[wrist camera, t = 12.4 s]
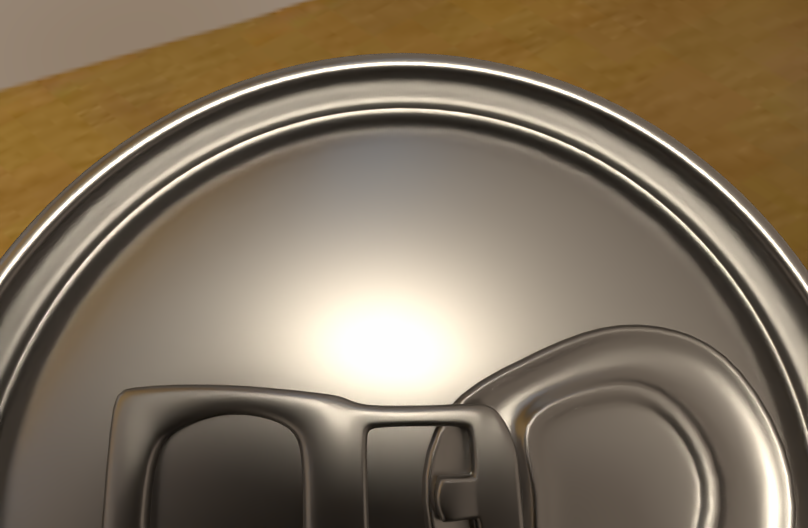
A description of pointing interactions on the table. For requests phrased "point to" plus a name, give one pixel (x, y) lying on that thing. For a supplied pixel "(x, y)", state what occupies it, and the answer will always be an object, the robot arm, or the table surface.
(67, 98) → the table surface
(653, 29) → the table surface
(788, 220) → the table surface
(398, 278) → the can
